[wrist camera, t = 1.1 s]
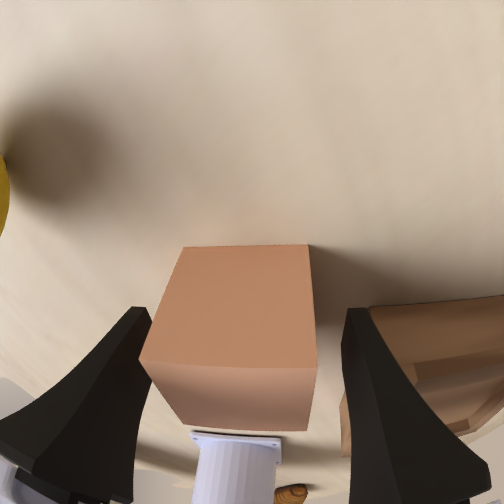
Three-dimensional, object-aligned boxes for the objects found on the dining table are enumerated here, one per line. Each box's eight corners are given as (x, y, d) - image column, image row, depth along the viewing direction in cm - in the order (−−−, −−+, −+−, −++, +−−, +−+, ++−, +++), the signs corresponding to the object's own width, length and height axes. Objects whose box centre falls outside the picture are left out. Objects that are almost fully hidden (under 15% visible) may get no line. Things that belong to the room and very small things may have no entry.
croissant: (280, 480, 38) (278, 508, 34) (320, 481, 38) (320, 508, 34) (261, 490, 46) (259, 512, 42) (294, 492, 46) (293, 513, 42)
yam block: (304, 326, 13) (306, 431, 9) (206, 325, 14) (183, 424, 10) (307, 243, 11) (317, 367, 7) (184, 246, 11) (138, 359, 7)
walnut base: (464, 388, 17) (475, 431, 14) (339, 406, 18) (342, 457, 15) (530, 291, 11) (559, 344, 8) (369, 307, 12) (386, 384, 9)
